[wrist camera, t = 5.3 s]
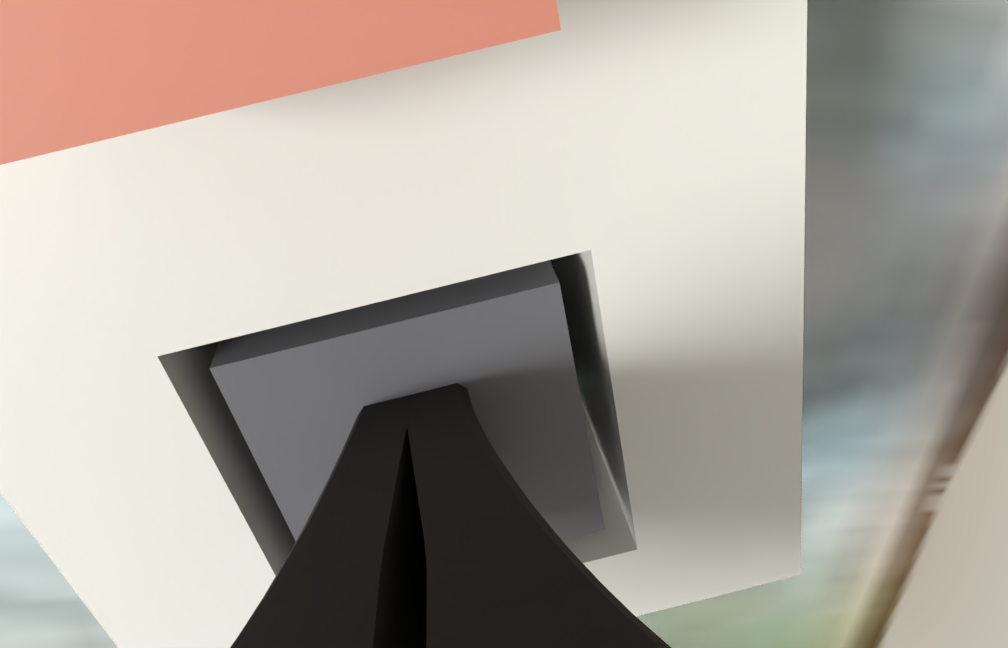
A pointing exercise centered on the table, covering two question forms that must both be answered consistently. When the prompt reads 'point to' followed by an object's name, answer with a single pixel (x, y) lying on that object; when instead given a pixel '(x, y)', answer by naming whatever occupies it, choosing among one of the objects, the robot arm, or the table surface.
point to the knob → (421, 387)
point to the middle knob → (215, 56)
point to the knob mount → (418, 267)
